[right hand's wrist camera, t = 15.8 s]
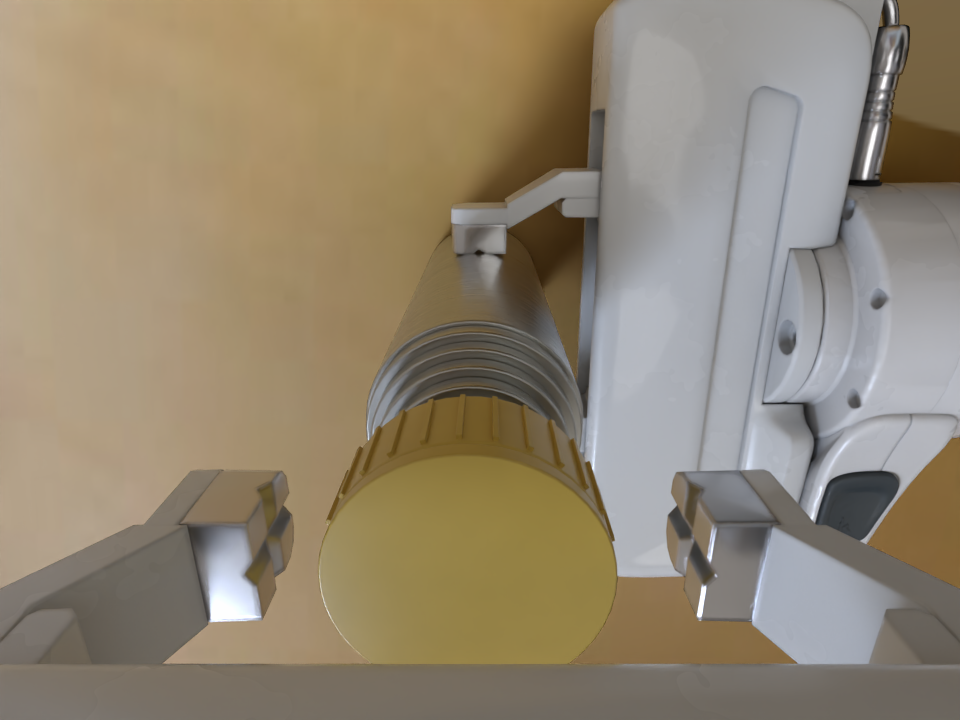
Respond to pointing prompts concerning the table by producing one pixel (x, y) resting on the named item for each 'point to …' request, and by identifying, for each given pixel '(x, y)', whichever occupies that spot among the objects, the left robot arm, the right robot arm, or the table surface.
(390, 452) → the cap
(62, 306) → the table surface
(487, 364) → the bottle
